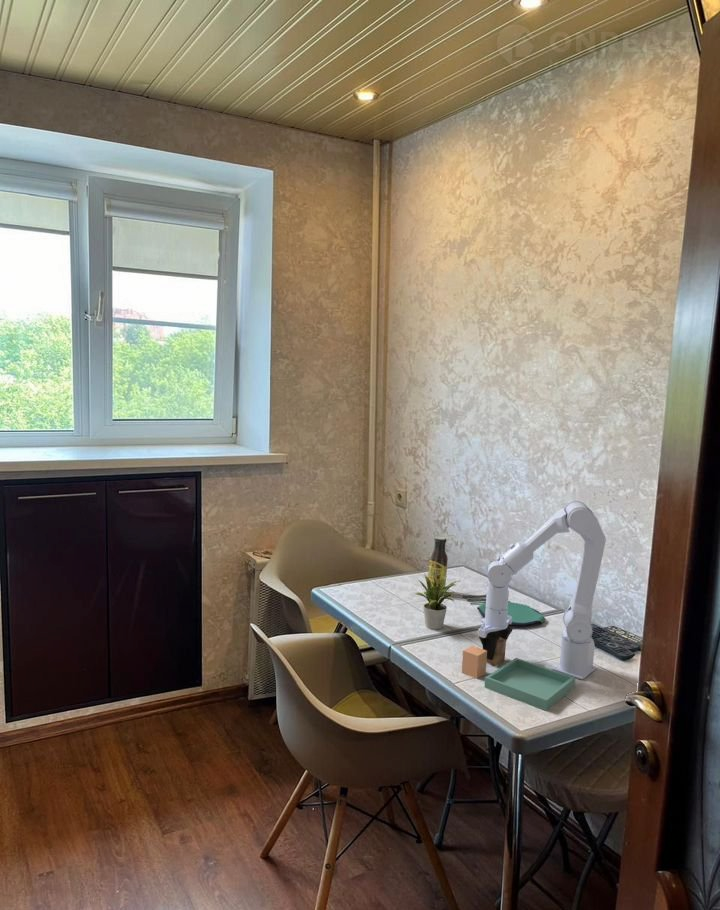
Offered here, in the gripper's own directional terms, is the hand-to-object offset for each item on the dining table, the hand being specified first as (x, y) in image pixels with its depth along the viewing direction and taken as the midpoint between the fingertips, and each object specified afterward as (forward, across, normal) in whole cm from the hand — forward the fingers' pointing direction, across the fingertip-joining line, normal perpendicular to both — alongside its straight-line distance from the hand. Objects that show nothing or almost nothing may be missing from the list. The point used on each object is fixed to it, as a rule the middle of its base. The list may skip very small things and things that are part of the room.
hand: (493, 655), depth 175 cm
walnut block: (+1, 0, 0) cm, 1 cm away
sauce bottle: (+2, -35, -42) cm, 55 cm away
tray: (+1, +7, +14) cm, 16 cm away
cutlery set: (+2, -36, -17) cm, 40 cm away
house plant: (+2, -8, -24) cm, 25 cm away
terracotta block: (+2, +10, 0) cm, 10 cm away
